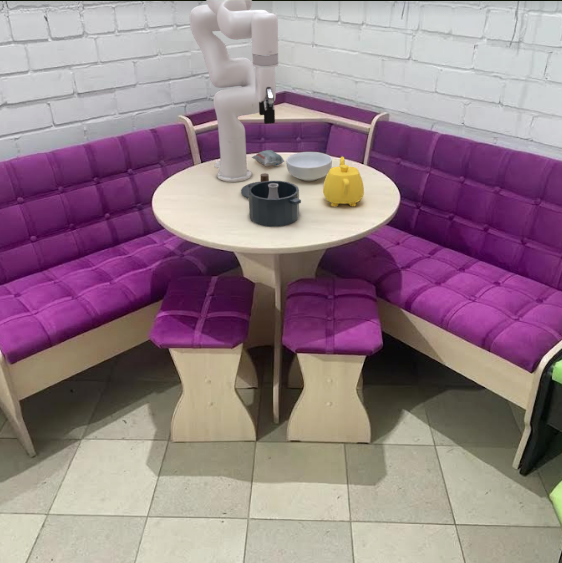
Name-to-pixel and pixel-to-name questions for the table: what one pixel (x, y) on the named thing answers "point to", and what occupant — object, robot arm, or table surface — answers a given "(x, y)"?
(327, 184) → the teapot
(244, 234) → the table surface
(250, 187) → the pot
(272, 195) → the flask
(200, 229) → the table surface
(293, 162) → the cereal bowl
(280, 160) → the packaged food
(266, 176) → the pot lid
